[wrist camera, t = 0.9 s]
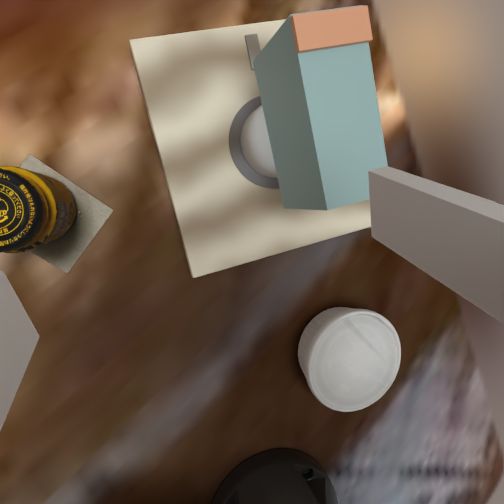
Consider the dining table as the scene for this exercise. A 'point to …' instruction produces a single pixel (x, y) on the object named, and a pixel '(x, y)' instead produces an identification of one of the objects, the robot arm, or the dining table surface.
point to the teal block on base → (317, 110)
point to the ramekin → (349, 357)
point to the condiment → (46, 214)
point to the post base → (222, 150)
